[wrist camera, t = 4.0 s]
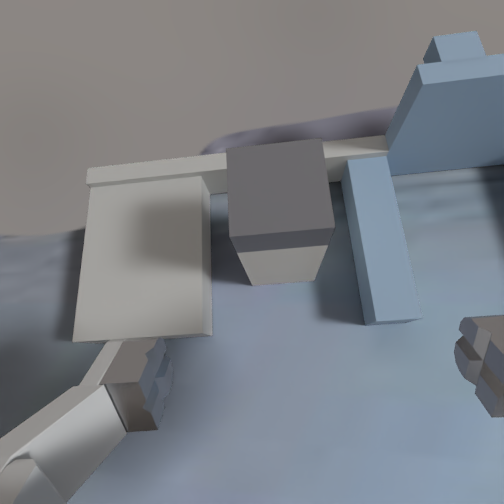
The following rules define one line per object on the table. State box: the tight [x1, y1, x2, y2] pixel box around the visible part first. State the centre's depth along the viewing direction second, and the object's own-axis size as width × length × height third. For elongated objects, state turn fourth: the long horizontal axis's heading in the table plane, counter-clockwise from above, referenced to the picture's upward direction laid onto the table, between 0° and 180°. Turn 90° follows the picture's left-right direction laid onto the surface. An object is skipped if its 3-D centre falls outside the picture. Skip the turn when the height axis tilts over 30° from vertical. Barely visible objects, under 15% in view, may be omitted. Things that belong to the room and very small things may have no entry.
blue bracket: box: [341, 31, 504, 326], centre depth 17 cm, size 13×13×8 cm
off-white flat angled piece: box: [72, 135, 389, 344], centre depth 20 cm, size 19×11×3 cm, turn 93°
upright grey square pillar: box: [226, 138, 335, 286], centre depth 17 cm, size 4×4×9 cm
